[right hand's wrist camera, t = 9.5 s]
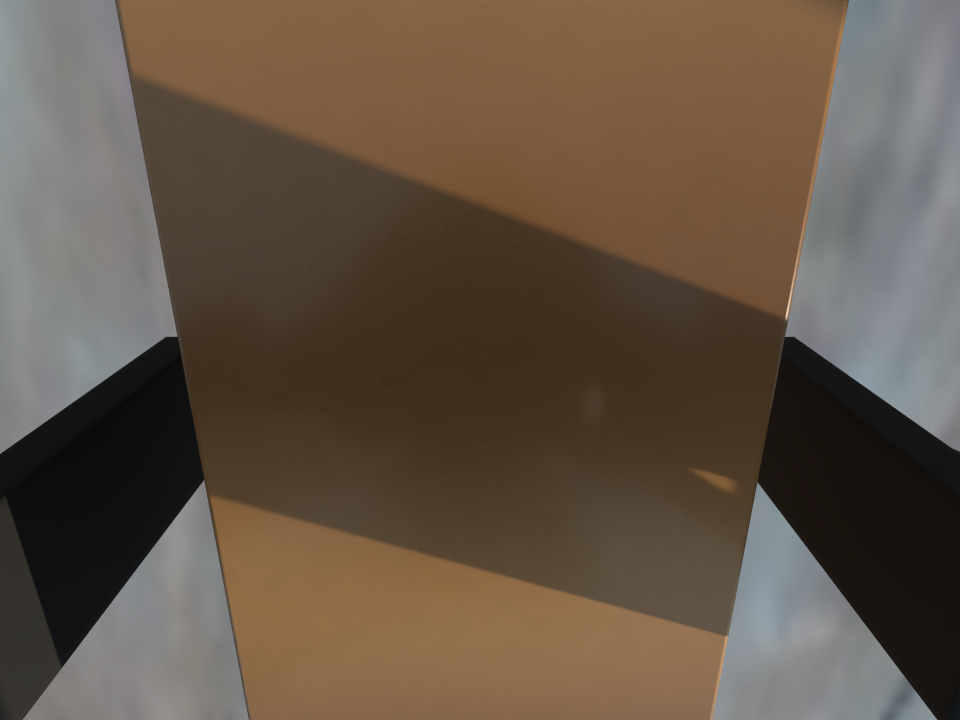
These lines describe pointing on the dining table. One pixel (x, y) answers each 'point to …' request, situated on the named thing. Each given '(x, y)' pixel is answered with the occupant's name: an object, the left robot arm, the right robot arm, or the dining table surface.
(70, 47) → the dining table surface
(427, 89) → the bar
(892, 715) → the dining table surface
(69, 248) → the dining table surface
